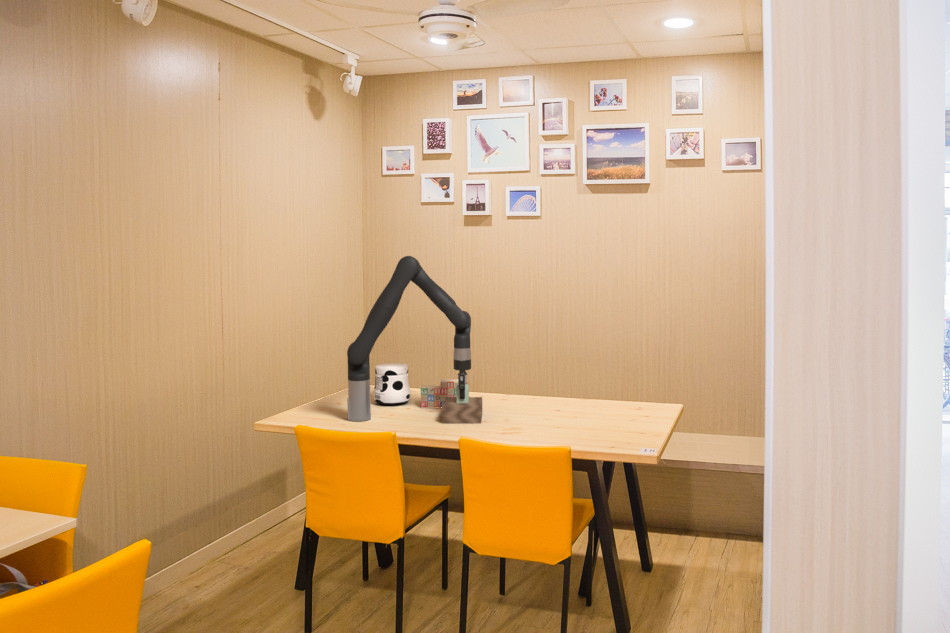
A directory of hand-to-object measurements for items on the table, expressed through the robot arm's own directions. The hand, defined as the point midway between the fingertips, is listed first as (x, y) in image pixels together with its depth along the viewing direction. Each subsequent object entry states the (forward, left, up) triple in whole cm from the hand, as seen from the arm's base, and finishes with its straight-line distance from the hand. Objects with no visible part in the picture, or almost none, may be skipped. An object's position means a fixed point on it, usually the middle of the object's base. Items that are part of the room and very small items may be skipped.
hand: (462, 397), depth 322 cm
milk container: (-35, +31, -9) cm, 48 cm away
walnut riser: (0, 0, -9) cm, 9 cm away
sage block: (0, 0, -2) cm, 2 cm away
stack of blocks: (-10, +24, -9) cm, 27 cm away
